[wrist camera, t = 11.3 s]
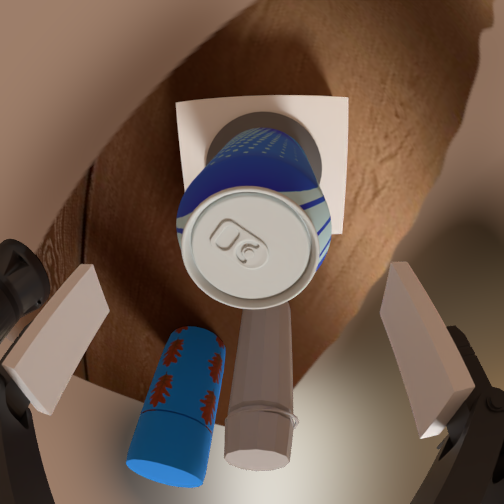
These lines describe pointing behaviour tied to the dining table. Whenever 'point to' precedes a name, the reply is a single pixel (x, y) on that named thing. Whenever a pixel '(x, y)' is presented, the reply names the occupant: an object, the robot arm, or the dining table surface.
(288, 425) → the water bottle
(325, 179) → the white block with disc
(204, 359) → the thermos
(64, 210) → the dining table surface
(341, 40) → the dining table surface
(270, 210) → the beer can
